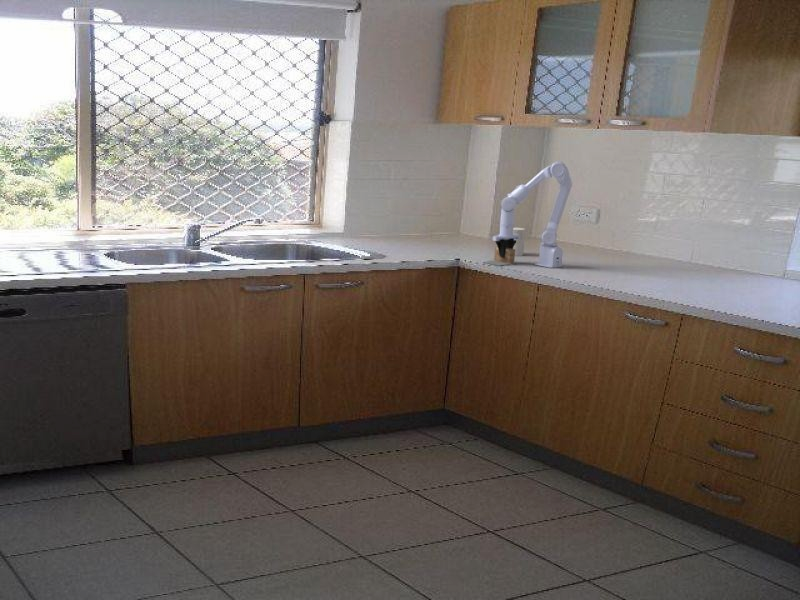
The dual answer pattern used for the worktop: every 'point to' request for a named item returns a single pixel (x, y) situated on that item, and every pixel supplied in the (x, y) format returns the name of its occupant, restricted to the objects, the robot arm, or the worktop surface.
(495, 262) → the mat
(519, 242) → the cup
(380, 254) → the worktop surface
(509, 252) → the slab
